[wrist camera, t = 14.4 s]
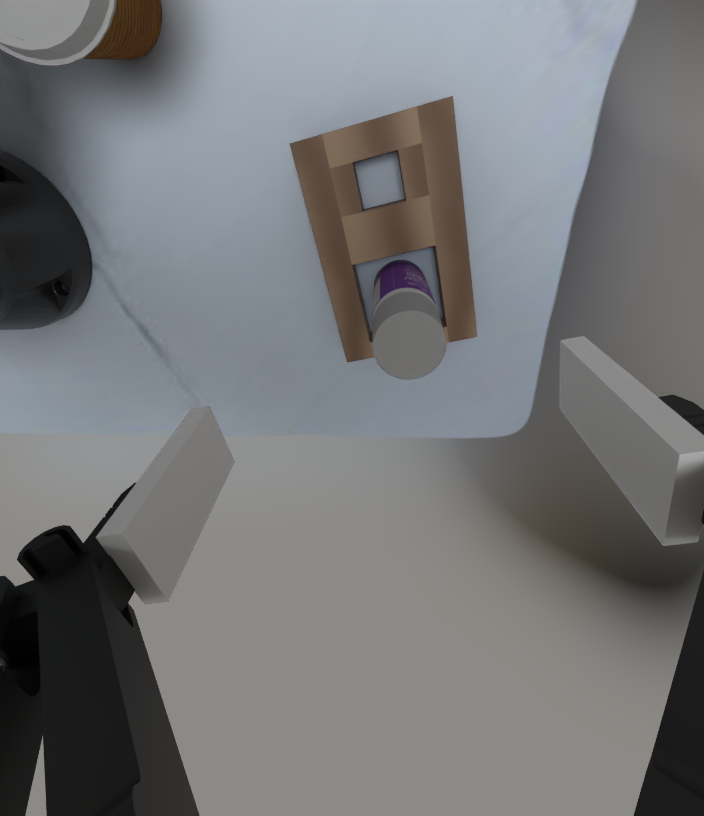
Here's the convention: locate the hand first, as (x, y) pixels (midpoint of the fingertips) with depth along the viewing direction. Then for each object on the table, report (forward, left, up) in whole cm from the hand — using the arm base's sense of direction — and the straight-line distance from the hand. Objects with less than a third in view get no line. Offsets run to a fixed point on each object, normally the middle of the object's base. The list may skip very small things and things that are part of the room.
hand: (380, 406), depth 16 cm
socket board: (+1, +2, -25) cm, 25 cm away
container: (+1, -2, -26) cm, 26 cm away
